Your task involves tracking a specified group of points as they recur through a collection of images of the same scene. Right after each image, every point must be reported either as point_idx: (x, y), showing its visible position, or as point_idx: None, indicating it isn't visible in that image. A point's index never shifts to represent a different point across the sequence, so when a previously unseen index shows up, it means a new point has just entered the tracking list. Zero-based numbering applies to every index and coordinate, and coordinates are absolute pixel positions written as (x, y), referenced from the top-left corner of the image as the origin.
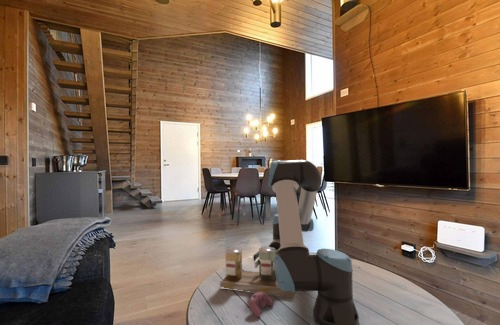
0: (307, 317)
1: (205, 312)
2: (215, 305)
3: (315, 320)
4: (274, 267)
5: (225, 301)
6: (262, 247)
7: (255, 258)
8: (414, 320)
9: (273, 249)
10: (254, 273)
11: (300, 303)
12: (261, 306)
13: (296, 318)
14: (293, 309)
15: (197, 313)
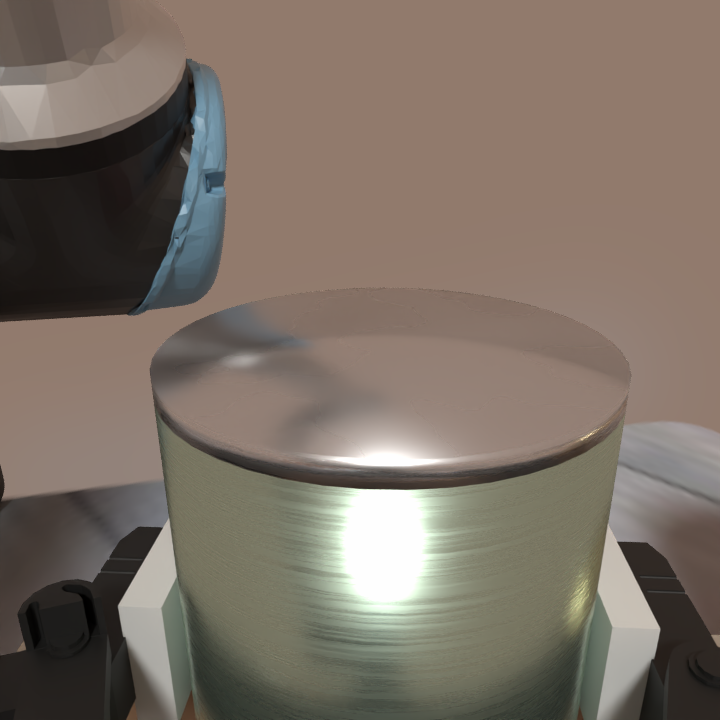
0: (37, 511)
1: (675, 459)
2: (685, 508)
3: (3, 484)
4: (225, 200)
5: (662, 550)
6: (589, 401)
7: None
8: None
9: (210, 358)
10: None
11: (11, 631)
12: None
13: (116, 496)
14: (108, 557)
15: (708, 449)
